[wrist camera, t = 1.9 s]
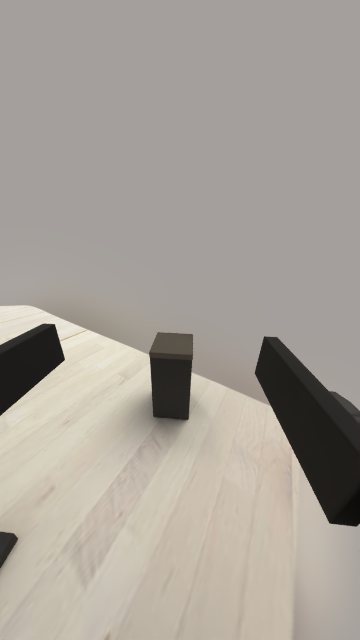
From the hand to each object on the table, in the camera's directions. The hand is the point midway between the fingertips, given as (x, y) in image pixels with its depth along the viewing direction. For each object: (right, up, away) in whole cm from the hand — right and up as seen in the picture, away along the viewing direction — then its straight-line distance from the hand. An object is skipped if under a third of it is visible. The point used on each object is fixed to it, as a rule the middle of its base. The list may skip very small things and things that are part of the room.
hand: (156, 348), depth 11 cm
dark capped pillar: (0, -11, +15) cm, 19 cm away
